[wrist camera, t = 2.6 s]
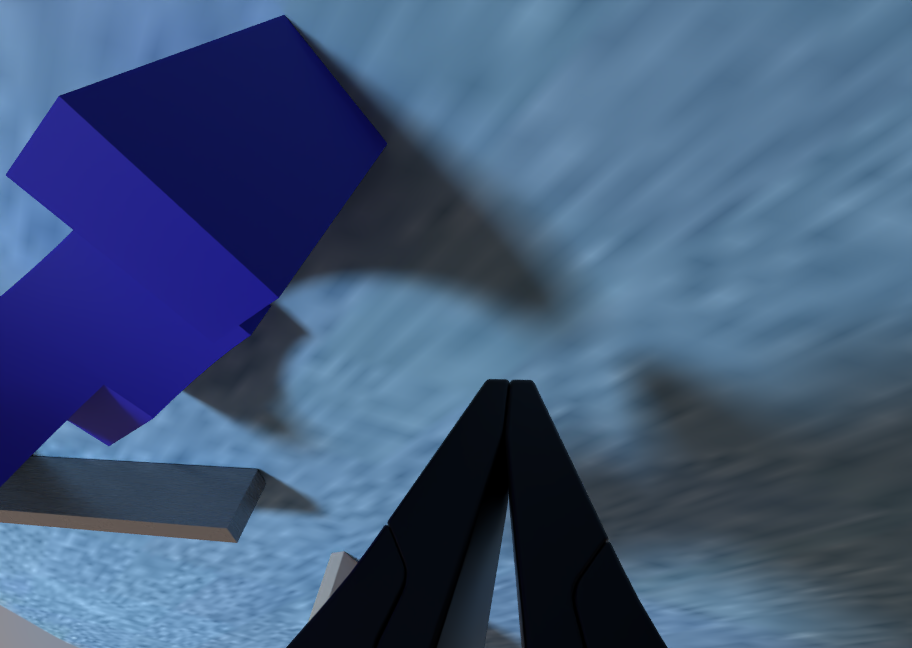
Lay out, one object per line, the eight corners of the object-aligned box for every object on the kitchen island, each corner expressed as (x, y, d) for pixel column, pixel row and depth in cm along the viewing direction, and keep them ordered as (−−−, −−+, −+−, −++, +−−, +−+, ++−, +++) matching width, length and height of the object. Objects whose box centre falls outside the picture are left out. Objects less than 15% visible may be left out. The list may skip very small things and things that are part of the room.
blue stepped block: (166, 375, 17) (29, 541, 13) (42, 284, 15) (-174, 440, 11) (432, 193, 12) (358, 371, 7) (288, 13, 10) (58, 95, 5)
